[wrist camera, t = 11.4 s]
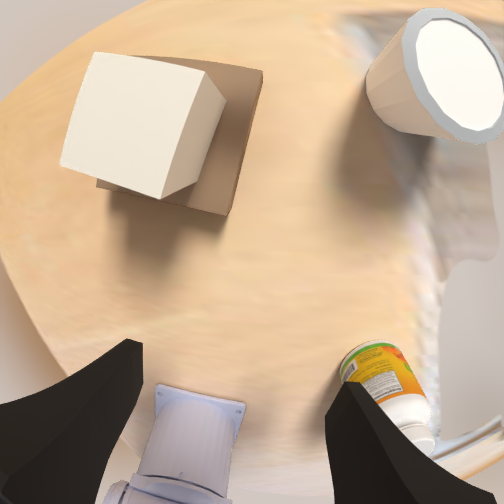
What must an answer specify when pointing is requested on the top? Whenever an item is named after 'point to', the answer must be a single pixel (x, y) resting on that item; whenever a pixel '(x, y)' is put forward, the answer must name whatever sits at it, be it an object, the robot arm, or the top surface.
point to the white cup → (439, 79)
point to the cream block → (142, 123)
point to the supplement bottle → (391, 388)
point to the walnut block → (216, 138)
